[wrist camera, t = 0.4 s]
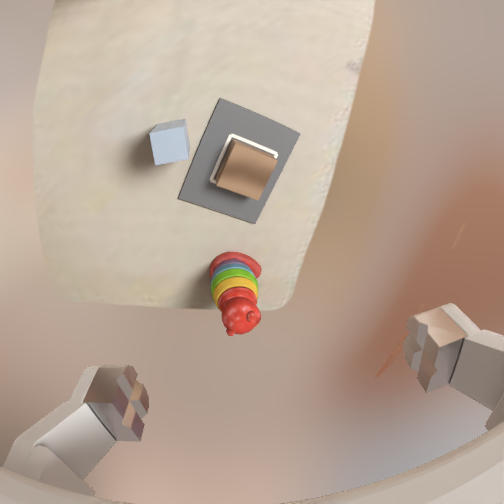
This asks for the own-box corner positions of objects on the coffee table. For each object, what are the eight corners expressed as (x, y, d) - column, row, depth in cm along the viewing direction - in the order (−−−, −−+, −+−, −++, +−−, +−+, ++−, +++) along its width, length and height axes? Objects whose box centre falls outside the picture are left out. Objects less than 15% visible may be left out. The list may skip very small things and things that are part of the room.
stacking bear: (227, 296, 70) (237, 355, 55) (197, 269, 65) (200, 330, 50) (264, 269, 68) (285, 326, 53) (236, 240, 63) (251, 296, 48)
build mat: (220, 98, 47) (220, 98, 47) (300, 133, 53) (300, 133, 52) (178, 197, 55) (178, 198, 55) (254, 223, 61) (255, 224, 61)
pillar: (157, 124, 47) (149, 133, 39) (185, 118, 48) (183, 126, 40) (162, 150, 50) (155, 165, 42) (189, 145, 51) (188, 159, 42)
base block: (232, 139, 51) (235, 143, 48) (272, 155, 54) (278, 160, 51) (215, 178, 54) (216, 185, 51) (254, 192, 57) (258, 200, 54)
